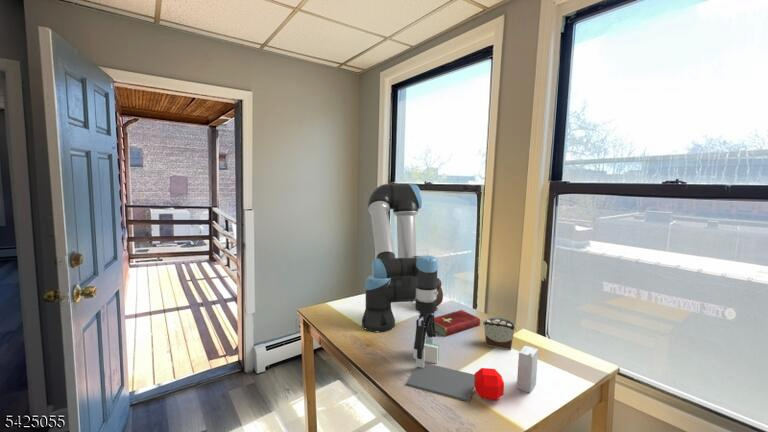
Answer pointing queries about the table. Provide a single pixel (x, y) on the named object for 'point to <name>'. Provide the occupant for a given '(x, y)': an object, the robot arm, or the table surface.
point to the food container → (499, 332)
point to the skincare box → (527, 368)
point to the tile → (430, 352)
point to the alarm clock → (439, 292)
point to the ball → (489, 384)
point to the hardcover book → (455, 322)
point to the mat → (443, 381)
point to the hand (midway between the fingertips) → (424, 360)
